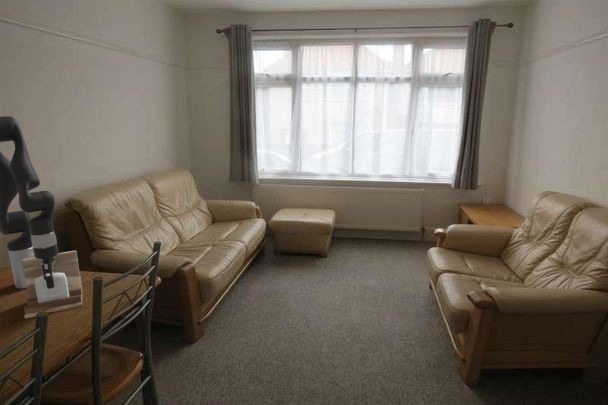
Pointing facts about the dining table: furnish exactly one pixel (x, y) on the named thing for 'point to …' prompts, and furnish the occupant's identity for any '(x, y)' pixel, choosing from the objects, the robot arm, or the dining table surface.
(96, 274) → the dining table surface
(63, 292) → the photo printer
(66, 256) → the cleat board
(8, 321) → the dining table surface
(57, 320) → the dining table surface
